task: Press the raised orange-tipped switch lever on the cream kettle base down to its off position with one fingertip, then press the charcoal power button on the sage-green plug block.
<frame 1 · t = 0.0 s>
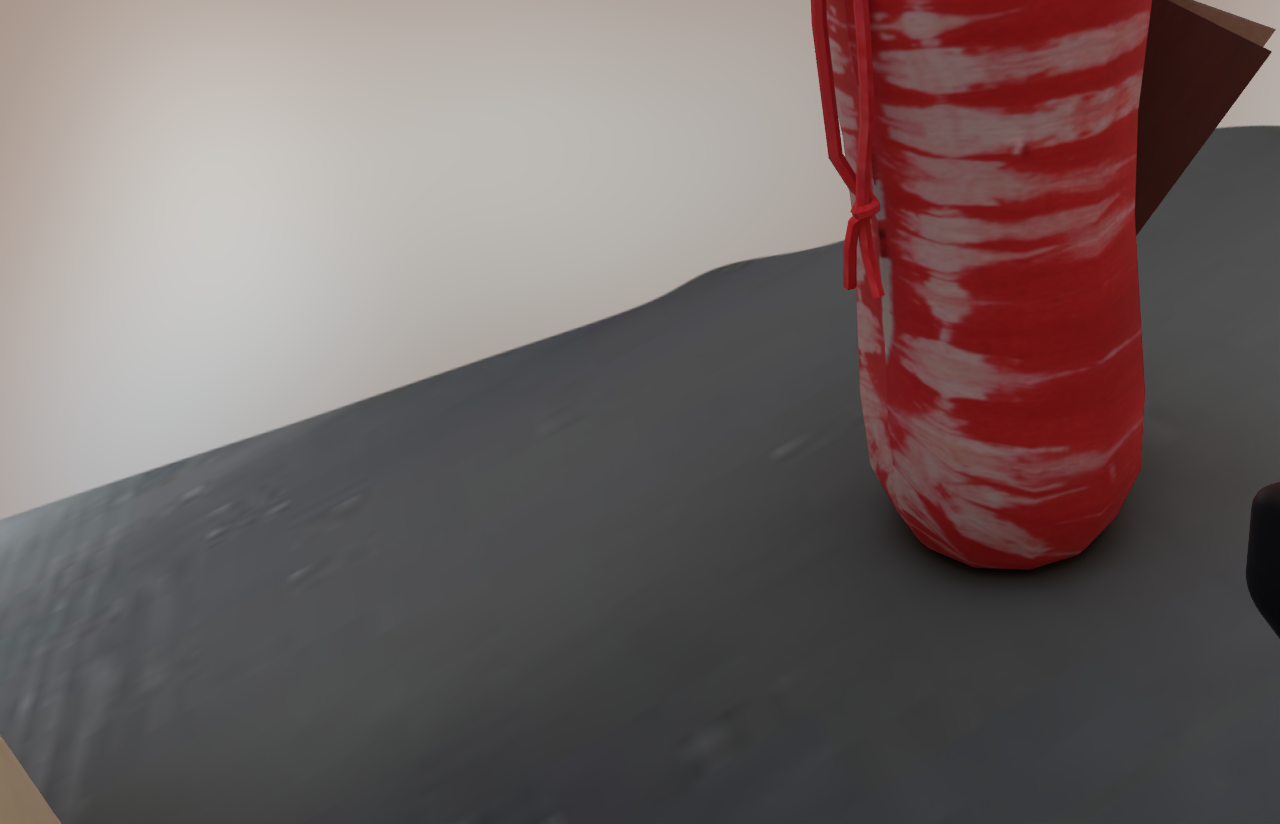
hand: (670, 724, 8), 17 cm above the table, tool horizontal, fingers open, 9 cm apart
water bottle: (1039, 497, 35), on the table
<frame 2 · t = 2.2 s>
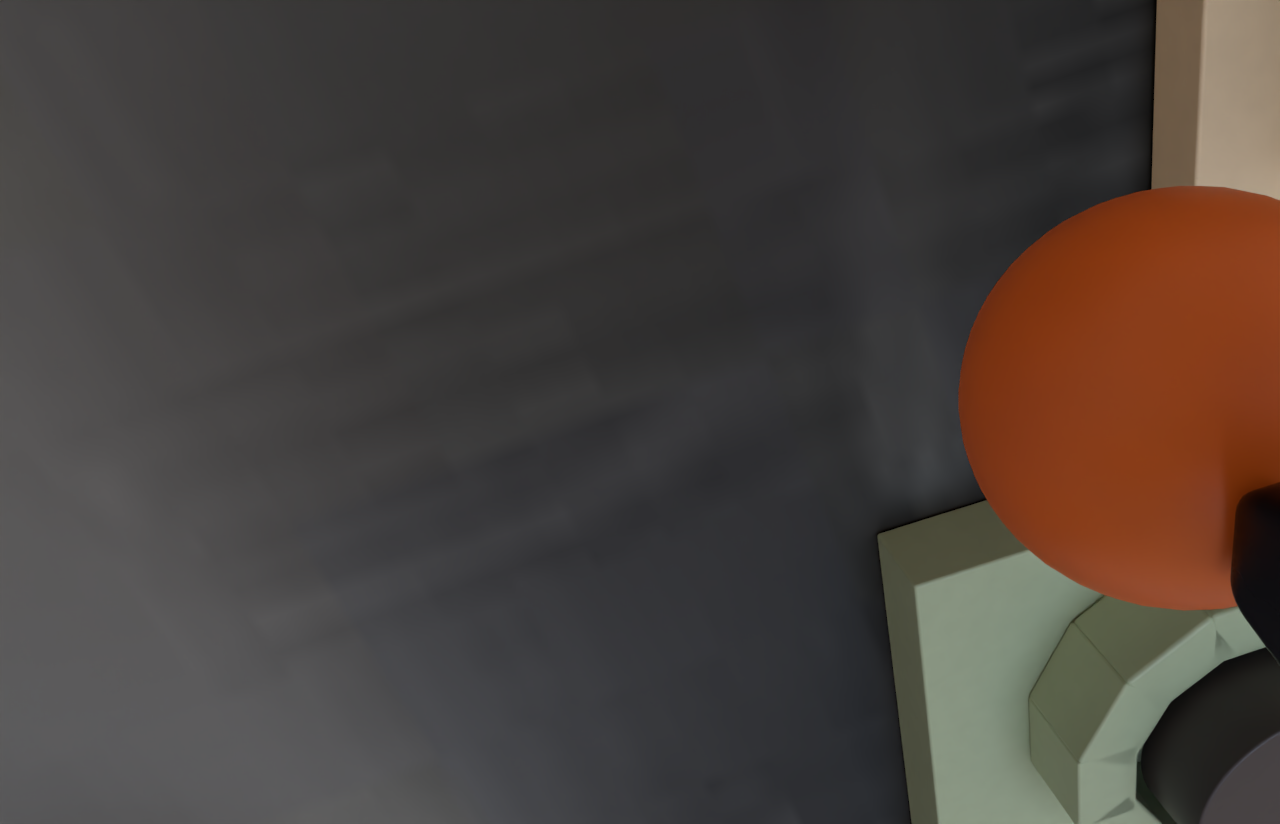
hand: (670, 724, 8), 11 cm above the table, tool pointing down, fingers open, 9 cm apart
power button: (1267, 760, 21), point 4 cm above the table, slide at 0.2 cm
plug block: (1137, 623, 25), on the table
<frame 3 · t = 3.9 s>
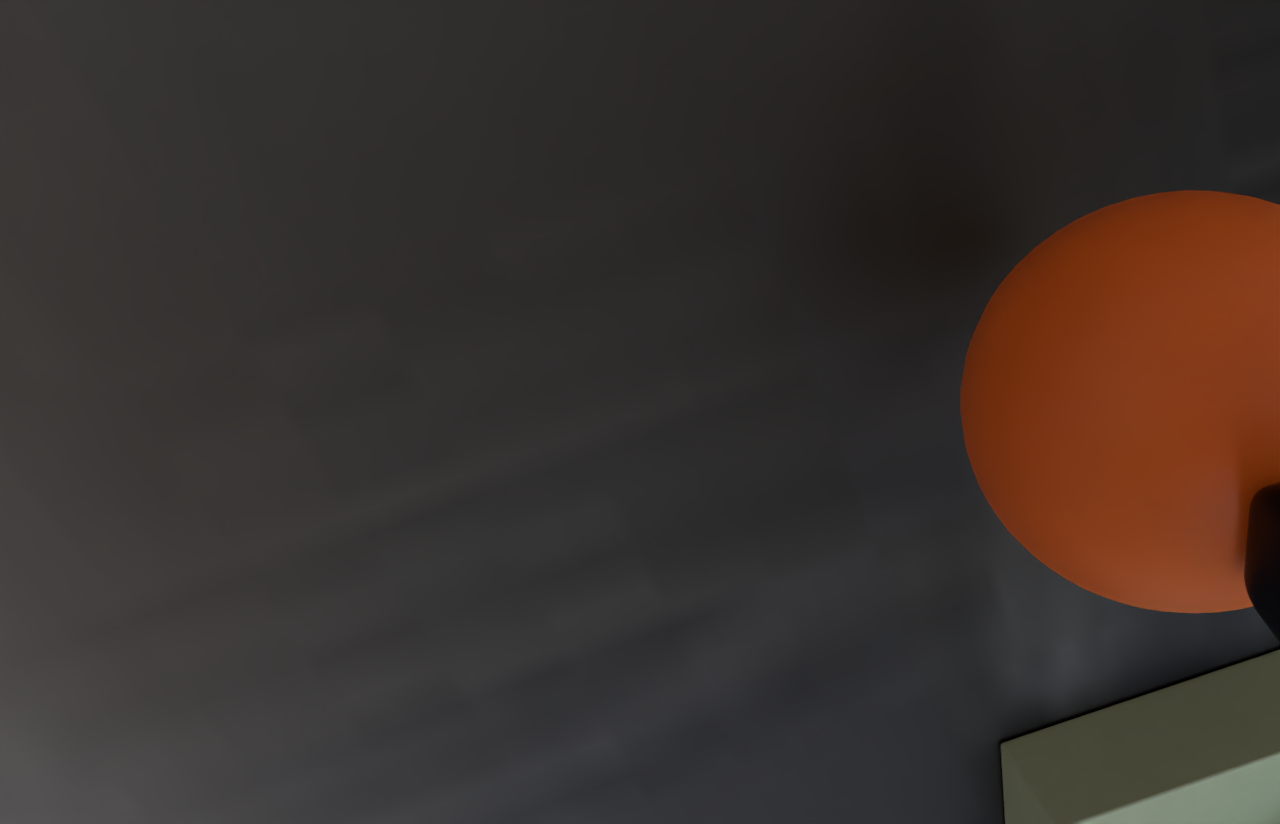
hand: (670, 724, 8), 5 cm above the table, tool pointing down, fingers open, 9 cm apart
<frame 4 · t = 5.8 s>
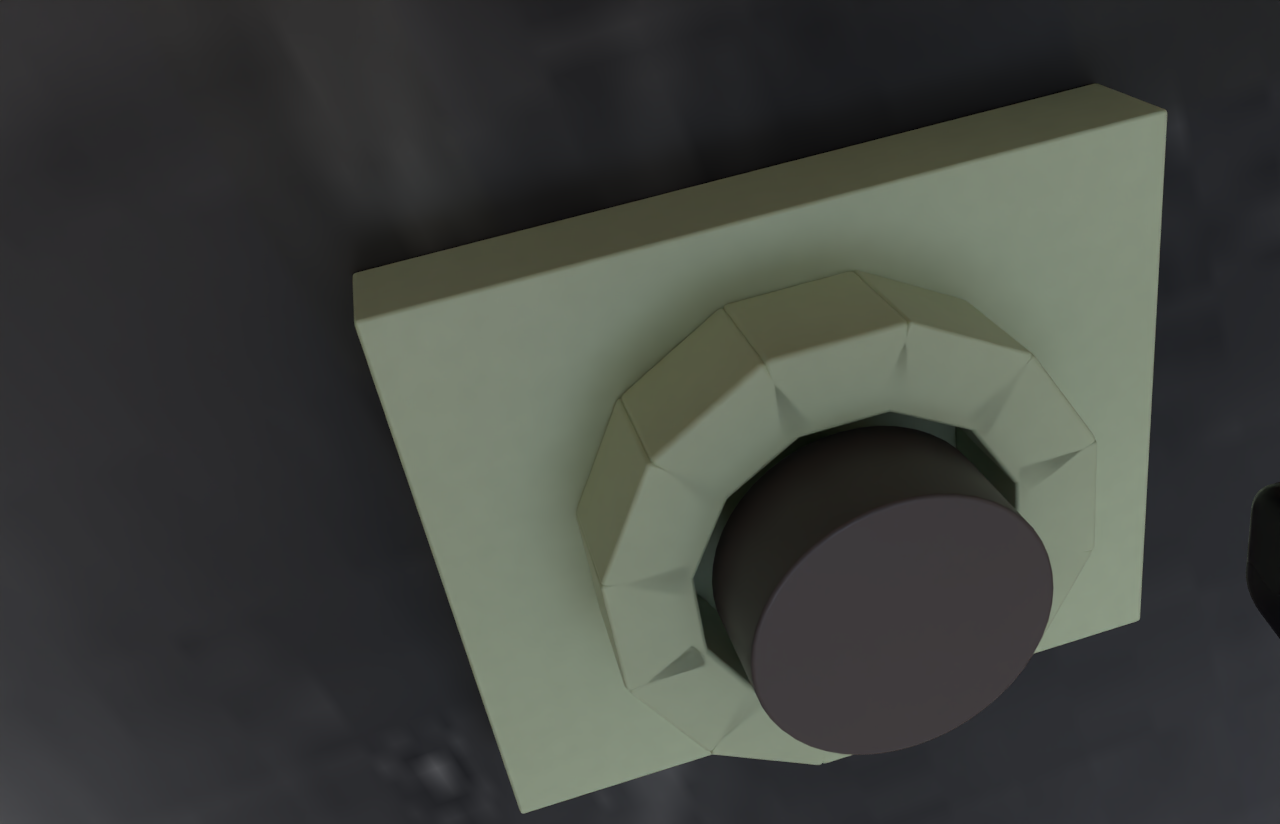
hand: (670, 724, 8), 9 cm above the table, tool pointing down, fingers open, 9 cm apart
power button: (877, 591, 15), point 4 cm above the table, slide at 0.2 cm
plug block: (775, 441, 18), on the table
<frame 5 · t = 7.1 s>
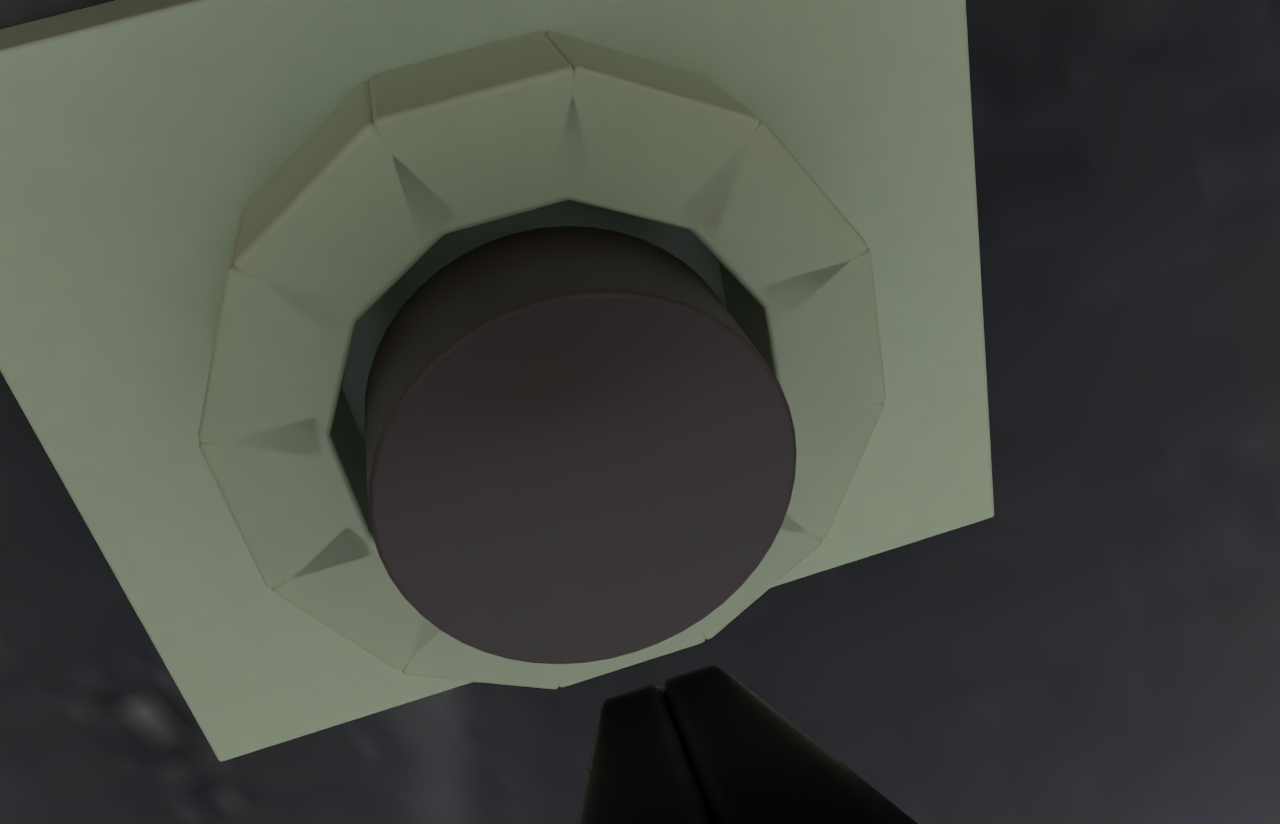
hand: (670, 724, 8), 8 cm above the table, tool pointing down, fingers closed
power button: (575, 448, 11), point 4 cm above the table, slide at 0.2 cm
plug block: (519, 293, 15), on the table
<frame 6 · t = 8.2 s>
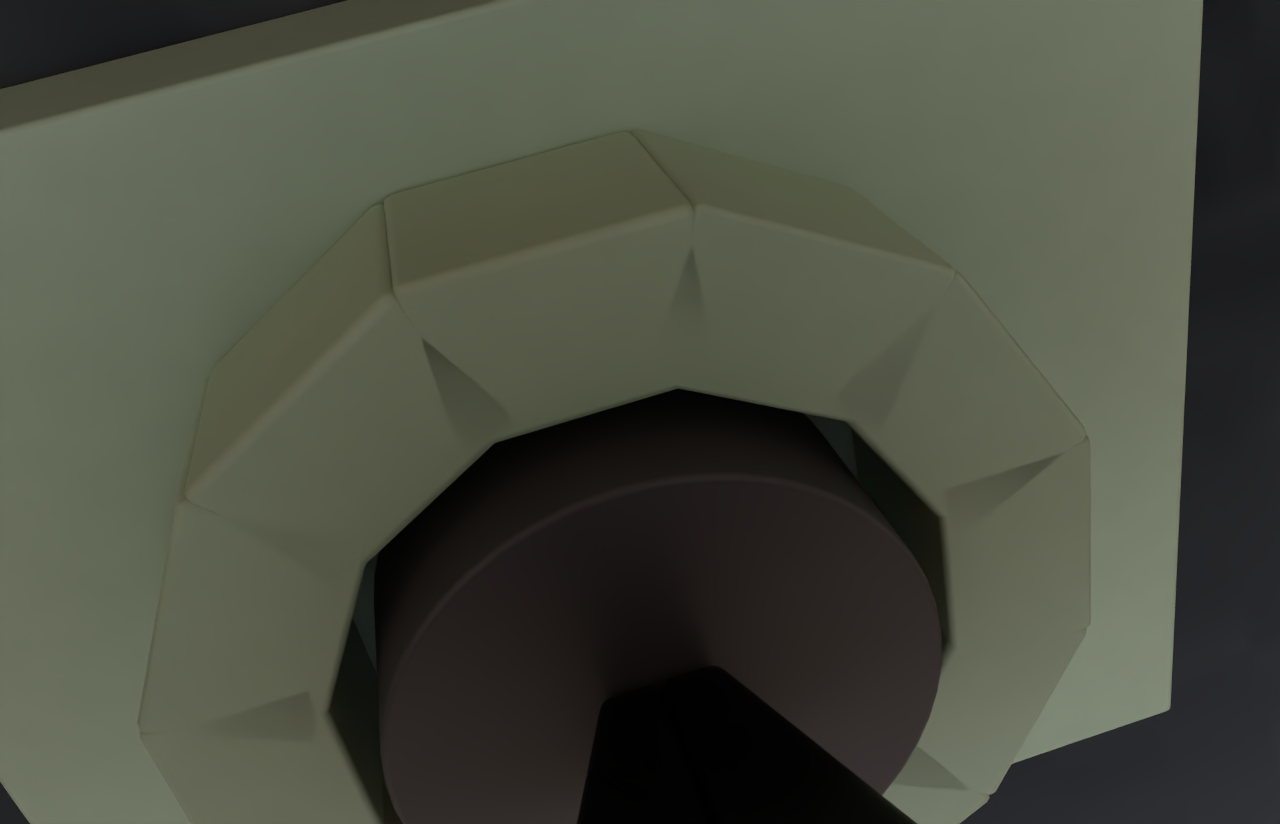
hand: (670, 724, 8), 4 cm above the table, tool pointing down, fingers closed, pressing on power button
power button: (647, 643, 9), point 3 cm above the table, slide at -0.8 cm, touching gripper
plug block: (575, 443, 11), on the table
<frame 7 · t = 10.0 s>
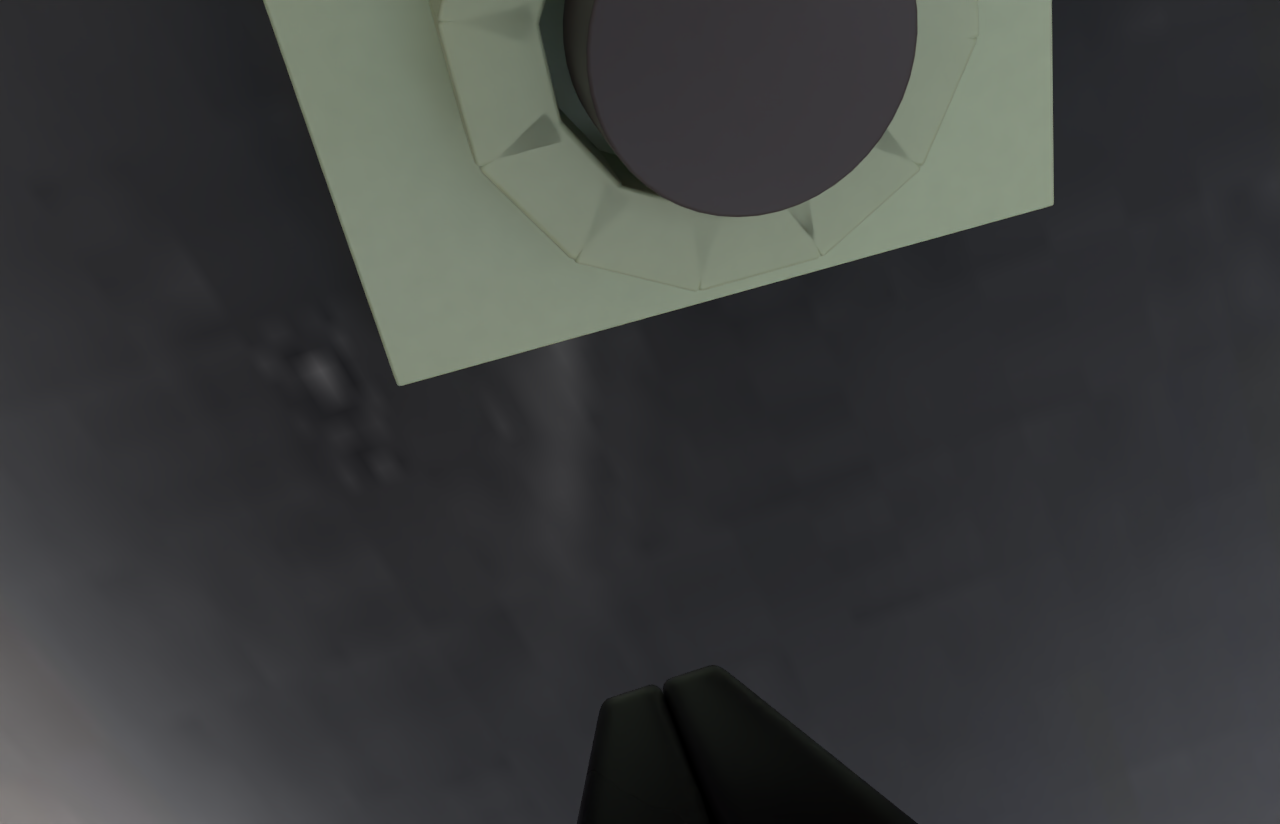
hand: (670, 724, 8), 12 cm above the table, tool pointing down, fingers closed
power button: (735, 37, 14), point 4 cm above the table, slide at 0.2 cm
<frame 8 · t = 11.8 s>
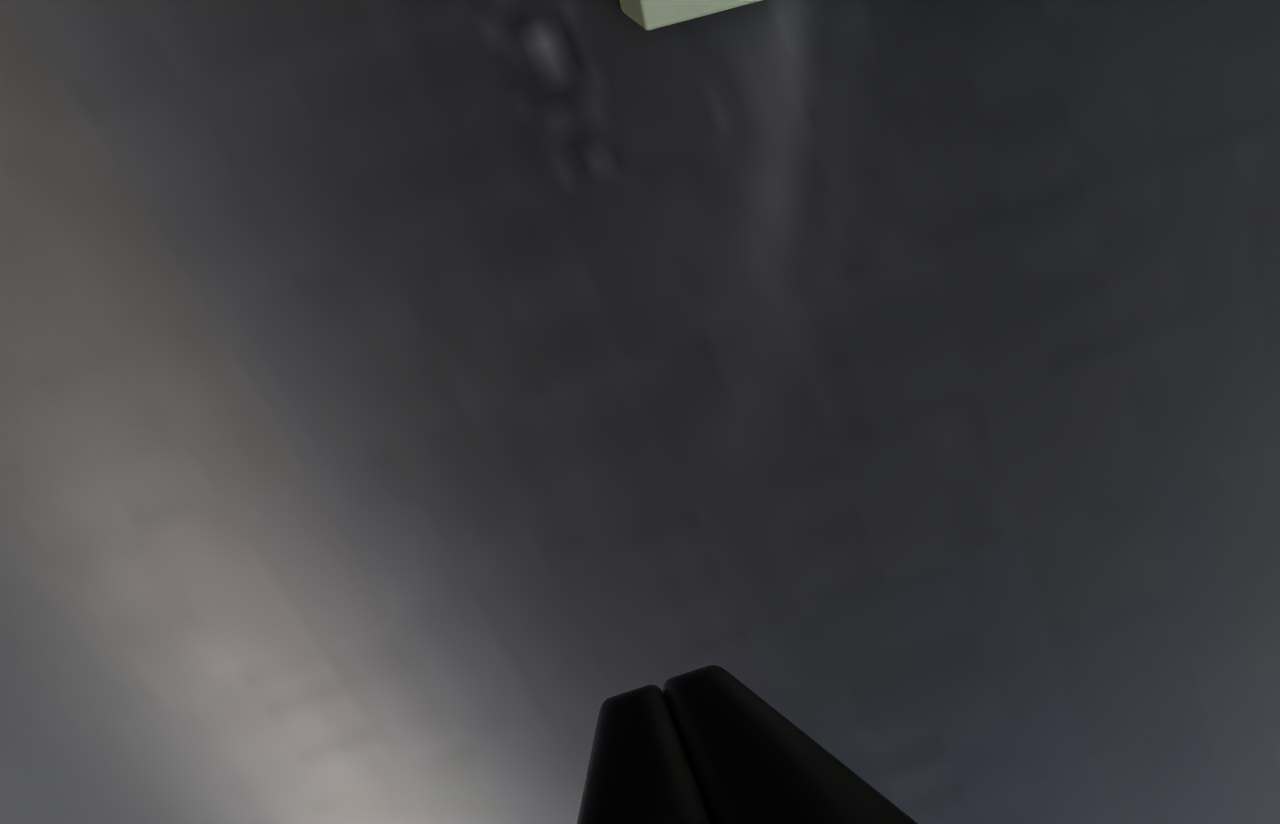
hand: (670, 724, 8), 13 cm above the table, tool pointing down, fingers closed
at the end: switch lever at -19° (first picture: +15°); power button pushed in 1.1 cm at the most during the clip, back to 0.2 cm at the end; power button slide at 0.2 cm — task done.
